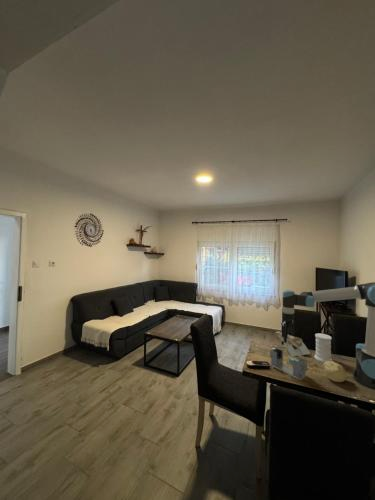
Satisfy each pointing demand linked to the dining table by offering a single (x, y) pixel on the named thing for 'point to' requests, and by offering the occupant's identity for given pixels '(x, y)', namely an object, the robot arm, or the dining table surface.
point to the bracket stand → (294, 371)
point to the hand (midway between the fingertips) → (287, 345)
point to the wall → (298, 350)
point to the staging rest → (292, 360)
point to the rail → (289, 339)
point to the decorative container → (323, 347)
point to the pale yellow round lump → (334, 371)
